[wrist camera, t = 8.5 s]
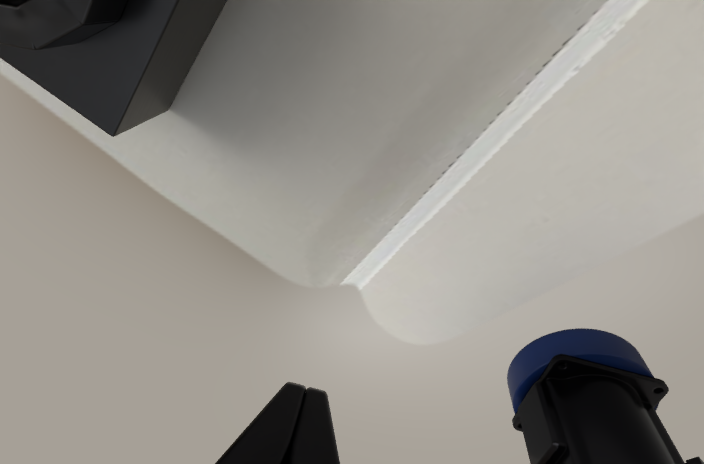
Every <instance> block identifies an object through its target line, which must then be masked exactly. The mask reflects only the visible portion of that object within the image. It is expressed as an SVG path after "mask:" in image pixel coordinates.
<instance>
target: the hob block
mask: <svg viewBox="0 0 704 464" xmlns="http://www.w3.org/2000/svg"><path fill="white" fill-rule="evenodd" d="M226 1H227V0H0V58H2V59H3V60H4V61H6V62H7V63H9V64H10V65H11V66H13V67H14V68H16V69H17V70H19V71H20V72H21V73H23V74H24V75H26V76H27V77H28V78H30V79H31V80H33V81H34V82H36V83H37V84H38V85H40V86H41V87H43V88H44V89H46V90H47V91H48V92H50V93H51V94H53V95H54V96H55V97H57V98H58V99H60V100H61V101H63V102H64V103H65V104H67V105H68V106H70V107H71V108H72V109H74V110H75V111H77V112H78V113H80V114H81V115H82V116H84V117H85V118H87V119H88V120H89V121H91V122H92V123H94V124H95V125H97V126H98V127H99V128H101V129H102V130H104V131H105V132H106V133H108V134H109V135H111V136H113V137H114V136H116V135H118V134H120V133H122V132H124V131H126V130H128V129H131V128H133V127H135V126H137V125H139V124H141V123H143V122H145V121H147V120H149V119H151V118H153V117H155V116H157V115H159V114H161V113H163V112H166V111H167V110H168V109H169V107H170V106H171V104H172V102H173V100H174V98H175V96H176V94H177V92H178V91H179V89H180V87H181V85H182V83H183V81H184V79H185V78H186V76H187V74H188V72H189V70H190V68H191V66H192V64H193V63H194V61H195V59H196V57H197V55H198V53H199V51H200V49H201V48H202V46H203V44H204V42H205V40H206V38H207V36H208V34H209V33H210V31H211V29H212V27H213V25H214V23H215V21H216V20H217V18H218V16H219V14H220V12H221V10H222V8H223V6H224V5H225V3H226Z"/></svg>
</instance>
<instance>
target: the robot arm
mask: <svg viewBox="0 0 704 464" xmlns="http://www.w3.org/2000/svg"><path fill="white" fill-rule="evenodd" d="M562 362H563V363H562ZM559 363H562V364H559ZM668 391H669V390H668V387H667V385H666V384H665V382H664V381H663V380H661V379H657V378H654V377H650V376H646V375H642V374H638V373H634V372H631V371H627V370H623V369H619V368H615V367H611V366H608V365H604V364H600V363H596V362H592V361H588V360H585V359H581V358H577V357H573V356H569V355H565V354H558V355H555V356H554V357H553V358H552V359H551V361H550V362H549V364H548V365H547V367H546V368H545V370H544V371H543V373H542V374H541V376H540V377H539V379H538V380H537V382H535V383H534V384H533V386H532V387H531V389H530V390H529V392H528V394H527V395H526V397H525V398H524V400H523V401H522V403H521V404H520V406H519V407H518V411H517V412H516V414H515V415H514V417H513V419H512V422H513V426H514V428H515V429H516V430H519V431H522V432H523V434H524V438H525V442H526V446H527V451H528V455H529V459H530V463H531V464H704V462H703V461H702V460H701V459H700V458H699V457H696V458H692V459H689V460H686V462H687V463H684V461H683V460H682V458H681V456H680V454H679V452H678V451H677V449H676V447H675V445H674V444H673V442H672V440H671V438H670V436H669V435H668V433H667V431H666V429H665V428H664V426H663V424H662V423H661V421H660V419H659V417H658V415H657V414H656V412H655V410H654V407H655V406H656V405H657V404H658V403H659V402H660V400H661V399H662V398H663V397H664V396H665V395H666V394H667V392H668ZM305 392H306V393H305ZM215 464H340V462H339V456H338V451H337V445H336V440H335V435H334V429H333V423H332V418H331V412H330V408H329V402H328V396H327V394H326V392H325V391H323V390H319V389H315V388H311V387H310V388H307V390H306V388H305V386H303V385H300V384H296V383H291V382H288V383H286V384H285V385H284V386H283V387H282V388H281V390H279V392H278V393H277V394H276V395H275V396H274V397H273V398H272V400H271V401H270V402H269V403H268V404H267V405H266V406H265V407H264V409H263V410H262V411H261V412H260V413H259V414H258V415H257V417H256V418H255V419H254V420H253V421H252V422H251V423H250V425H249V426H248V427H247V428H246V429H245V430H244V431H243V433H242V434H241V435H240V436H239V437H238V438H237V439H236V441H235V442H234V443H233V444H232V445H231V446H230V447H229V449H228V450H227V451H226V452H225V453H224V454H223V455H222V457H221V458H220V459H219V460H218V461H217V462H216V463H215Z"/></svg>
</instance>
